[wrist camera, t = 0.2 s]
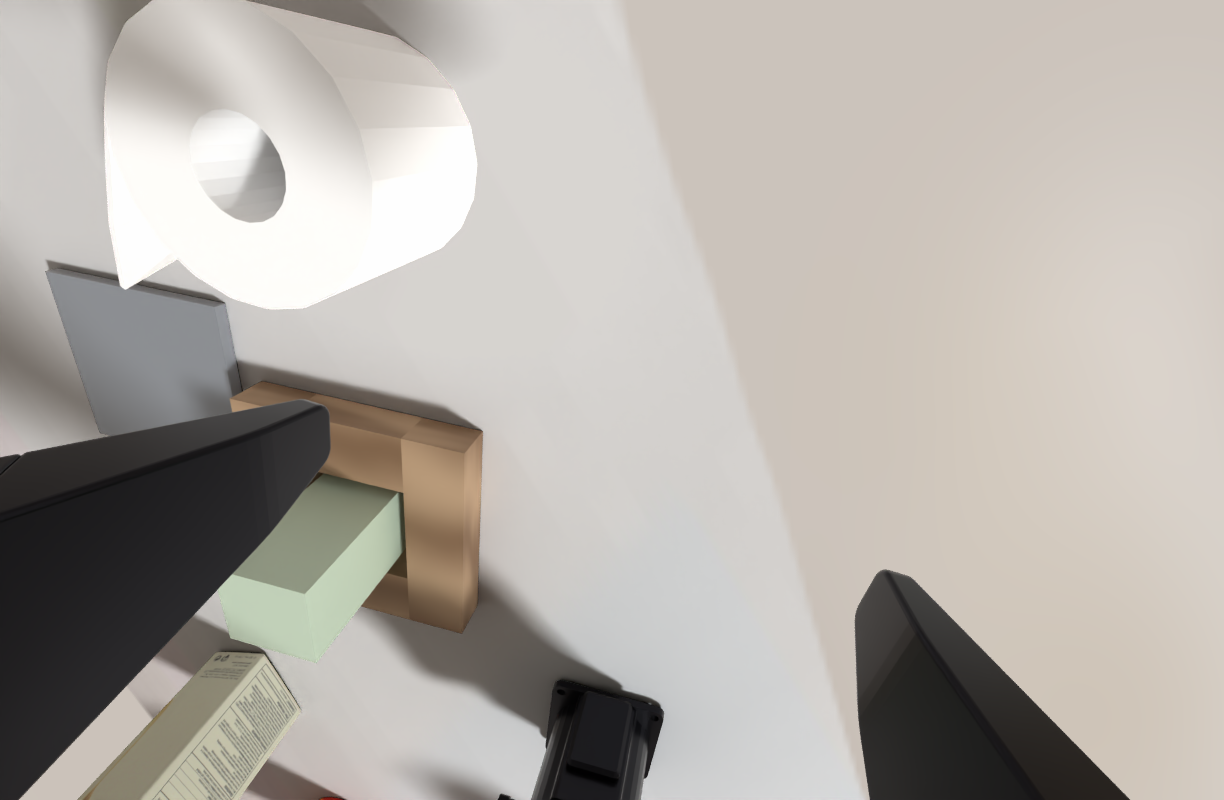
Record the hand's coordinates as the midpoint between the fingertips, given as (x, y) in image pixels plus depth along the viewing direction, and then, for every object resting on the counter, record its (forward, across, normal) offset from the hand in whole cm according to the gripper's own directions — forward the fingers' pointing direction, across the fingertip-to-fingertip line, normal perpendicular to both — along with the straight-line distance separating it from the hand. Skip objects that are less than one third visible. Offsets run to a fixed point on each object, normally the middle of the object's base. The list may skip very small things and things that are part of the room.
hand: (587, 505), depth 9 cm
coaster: (+14, +24, +11) cm, 30 cm away
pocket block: (+14, +12, +15) cm, 24 cm away
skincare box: (+15, +21, +35) cm, 43 cm away
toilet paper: (+15, +14, -1) cm, 20 cm away
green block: (+14, +12, +15) cm, 24 cm away
